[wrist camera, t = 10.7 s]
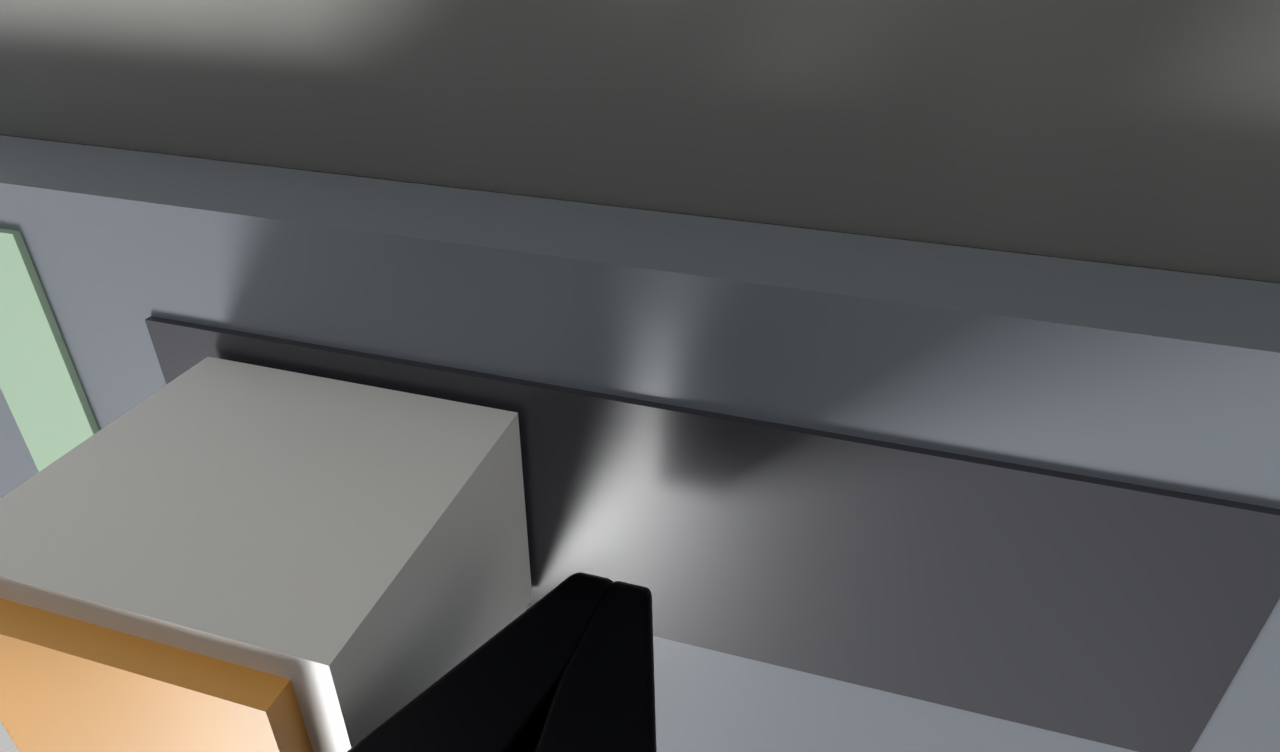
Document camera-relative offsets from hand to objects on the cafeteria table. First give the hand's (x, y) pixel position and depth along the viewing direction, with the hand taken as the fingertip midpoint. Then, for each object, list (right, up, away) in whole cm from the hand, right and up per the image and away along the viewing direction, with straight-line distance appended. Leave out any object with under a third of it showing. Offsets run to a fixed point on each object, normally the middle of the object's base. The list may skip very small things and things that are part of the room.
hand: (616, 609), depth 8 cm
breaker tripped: (-3, +1, +2) cm, 4 cm away
